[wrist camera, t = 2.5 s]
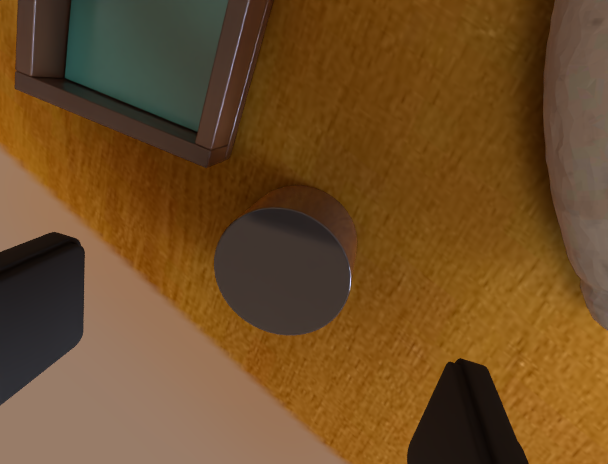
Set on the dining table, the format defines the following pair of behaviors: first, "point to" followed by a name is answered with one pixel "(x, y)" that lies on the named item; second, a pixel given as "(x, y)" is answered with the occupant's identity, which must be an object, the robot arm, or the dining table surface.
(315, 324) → the dark gray cylinder
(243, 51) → the divided tray
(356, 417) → the dining table surface
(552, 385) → the dining table surface
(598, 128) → the decorative stone
